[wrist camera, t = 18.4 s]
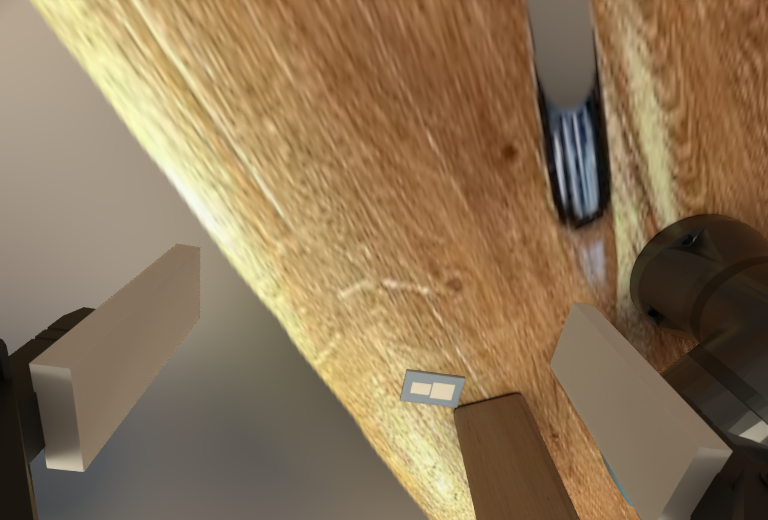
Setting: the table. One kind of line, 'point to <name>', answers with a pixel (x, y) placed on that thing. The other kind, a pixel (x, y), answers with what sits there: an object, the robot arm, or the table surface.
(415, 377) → the card
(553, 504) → the block
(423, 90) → the table surface
